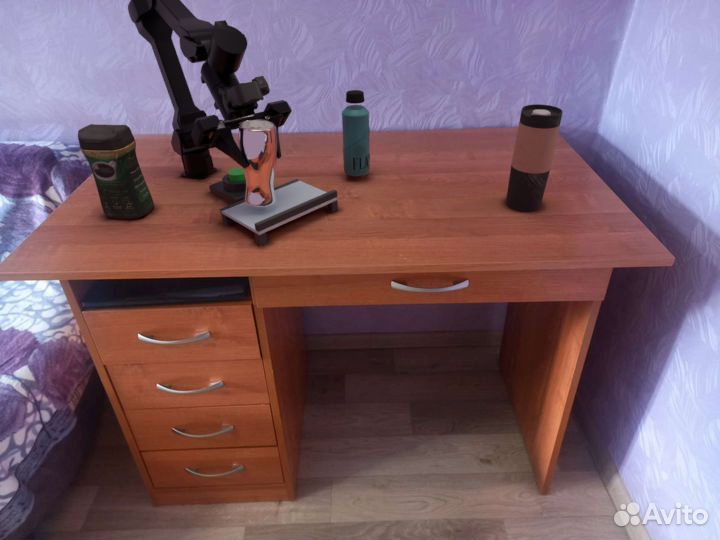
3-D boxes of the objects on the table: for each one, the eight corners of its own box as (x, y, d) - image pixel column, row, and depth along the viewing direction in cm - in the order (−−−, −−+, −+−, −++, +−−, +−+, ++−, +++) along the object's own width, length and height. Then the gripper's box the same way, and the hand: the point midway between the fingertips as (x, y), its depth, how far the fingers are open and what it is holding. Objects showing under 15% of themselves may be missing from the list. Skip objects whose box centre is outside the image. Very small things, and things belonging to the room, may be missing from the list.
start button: (225, 179, 106) (224, 171, 105) (240, 173, 108) (239, 166, 107) (235, 184, 103) (234, 176, 102) (250, 178, 106) (249, 171, 105)
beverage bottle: (350, 184, 111) (348, 96, 100) (338, 174, 116) (335, 89, 105) (375, 179, 113) (375, 92, 102) (362, 169, 118) (361, 86, 107)
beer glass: (277, 208, 91) (275, 131, 83) (240, 207, 90) (235, 129, 82) (279, 193, 97) (277, 120, 89) (244, 192, 96) (239, 118, 88)
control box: (210, 193, 108) (206, 177, 106) (243, 181, 114) (240, 165, 111) (238, 208, 102) (235, 191, 100) (271, 194, 107) (269, 178, 105)
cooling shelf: (222, 223, 97) (218, 203, 94) (298, 191, 108) (296, 173, 106) (260, 246, 89) (257, 225, 86) (338, 210, 100) (337, 190, 98)
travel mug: (542, 199, 103) (563, 105, 92) (541, 214, 97) (563, 117, 86) (506, 194, 105) (522, 102, 94) (503, 209, 100) (520, 113, 88)
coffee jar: (160, 204, 104) (136, 119, 93) (142, 221, 97) (114, 132, 87) (119, 202, 105) (91, 118, 94) (98, 219, 98) (66, 131, 88)
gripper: (183, 69, 77) (226, 154, 76) (281, 54, 87) (320, 129, 86) (175, 108, 86) (213, 183, 86) (264, 90, 96) (299, 157, 96)
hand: (263, 162), depth 88 cm, fingers closed on beer glass, 7 cm apart
